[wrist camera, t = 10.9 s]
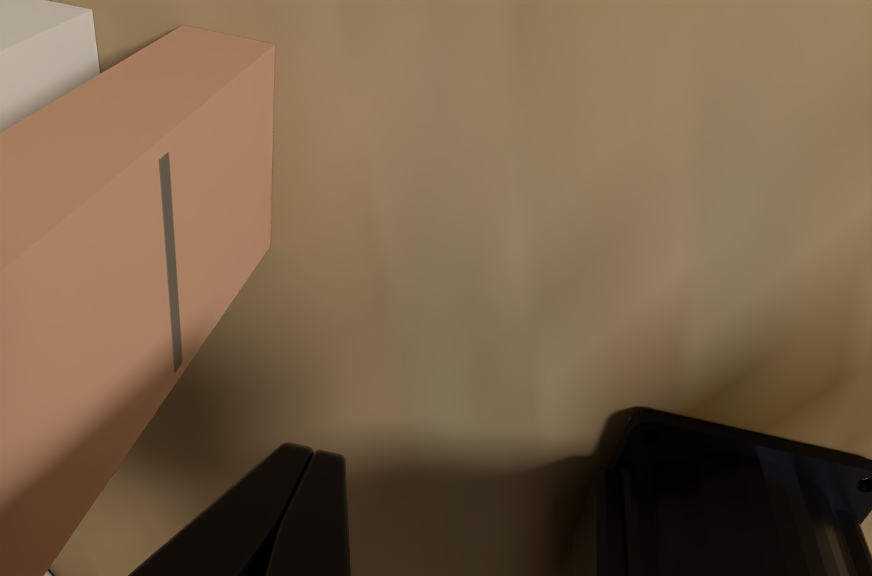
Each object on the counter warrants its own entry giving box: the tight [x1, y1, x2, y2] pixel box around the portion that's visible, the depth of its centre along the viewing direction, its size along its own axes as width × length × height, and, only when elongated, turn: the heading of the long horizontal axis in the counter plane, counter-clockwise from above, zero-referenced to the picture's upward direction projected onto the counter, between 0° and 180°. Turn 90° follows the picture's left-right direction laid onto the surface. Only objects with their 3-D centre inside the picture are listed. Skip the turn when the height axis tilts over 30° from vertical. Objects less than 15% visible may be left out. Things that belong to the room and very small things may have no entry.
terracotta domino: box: [0, 25, 275, 576], centre depth 13 cm, size 2×5×10 cm, turn 171°
